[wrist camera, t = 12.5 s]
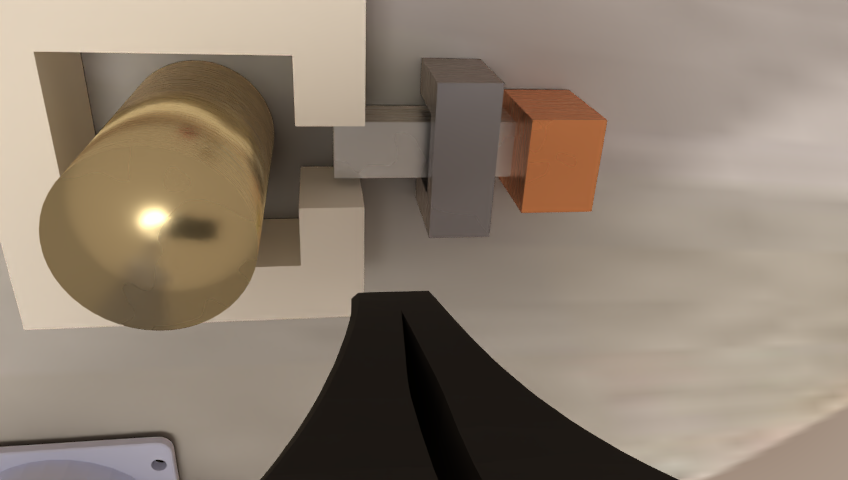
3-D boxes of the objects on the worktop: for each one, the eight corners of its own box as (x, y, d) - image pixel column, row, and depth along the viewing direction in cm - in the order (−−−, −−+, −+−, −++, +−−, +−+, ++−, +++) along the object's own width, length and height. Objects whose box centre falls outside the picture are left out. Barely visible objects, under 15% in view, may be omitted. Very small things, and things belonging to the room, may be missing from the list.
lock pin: (557, 171, 21) (591, 211, 19) (333, 173, 20) (336, 216, 18) (568, 89, 20) (607, 119, 17) (331, 87, 19) (334, 119, 16)
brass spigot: (273, 199, 20) (258, 331, 14) (133, 192, 20) (53, 329, 14) (275, 66, 19) (258, 152, 13) (121, 54, 18) (23, 139, 12)
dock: (357, 264, 22) (363, 316, 19) (61, 273, 21) (24, 329, 18) (358, -34, 18) (366, -20, 15) (-12, -46, 16) (-74, -34, 14)
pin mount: (468, 196, 21) (488, 236, 19) (415, 197, 21) (429, 237, 19) (479, 58, 19) (504, 83, 17) (421, 57, 19) (437, 82, 17)
